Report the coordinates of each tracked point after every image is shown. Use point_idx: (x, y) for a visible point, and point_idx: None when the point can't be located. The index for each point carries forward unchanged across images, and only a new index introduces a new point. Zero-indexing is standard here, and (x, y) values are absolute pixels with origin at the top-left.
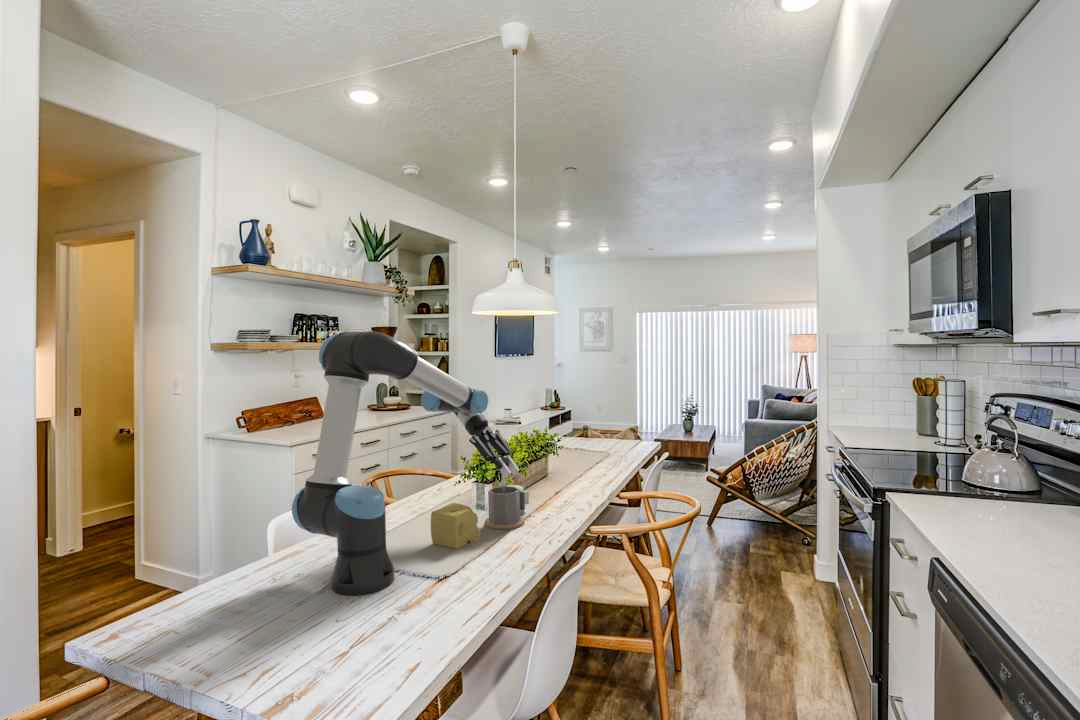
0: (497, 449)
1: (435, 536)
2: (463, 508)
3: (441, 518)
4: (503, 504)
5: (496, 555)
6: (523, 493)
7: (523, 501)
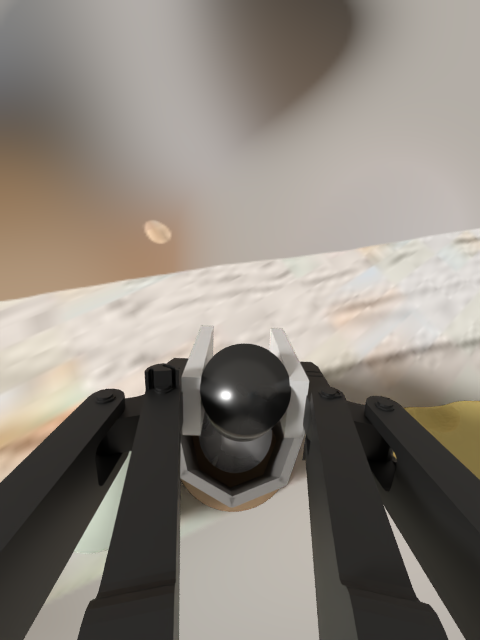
0: (179, 506)
1: None
2: (470, 440)
3: None
4: None
5: (403, 319)
6: None
7: None
